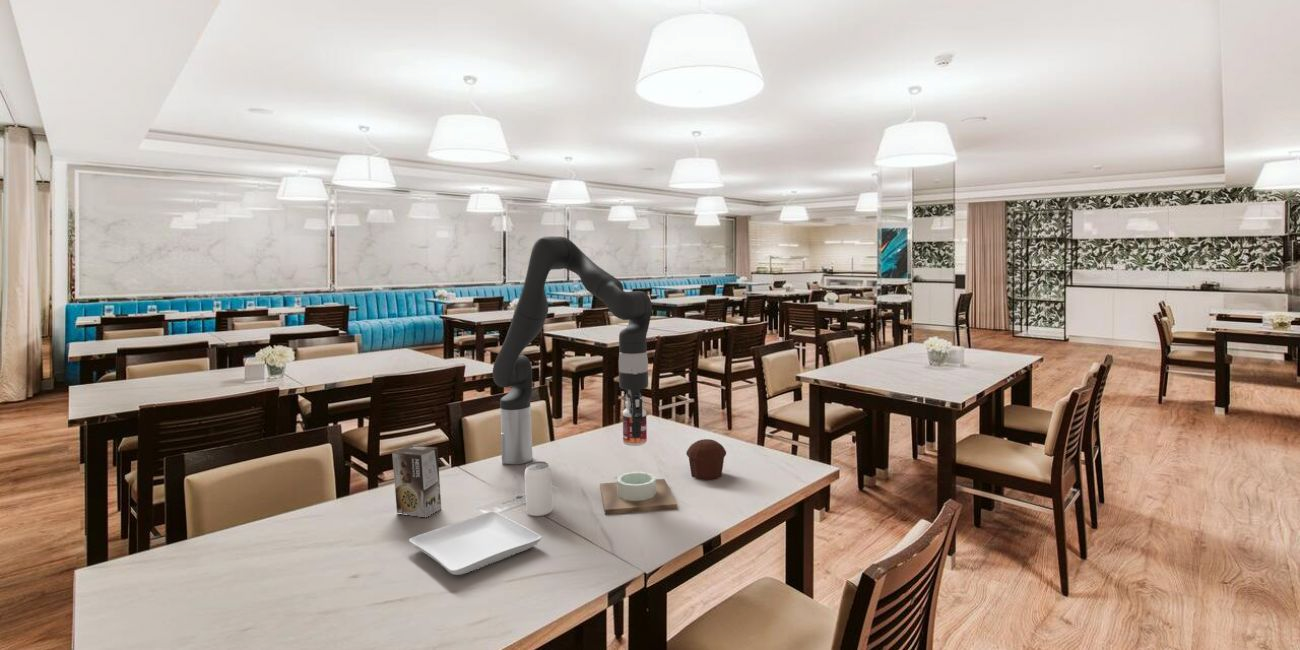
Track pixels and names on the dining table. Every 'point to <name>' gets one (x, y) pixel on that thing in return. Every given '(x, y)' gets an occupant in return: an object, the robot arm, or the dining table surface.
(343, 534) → the dining table surface
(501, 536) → the salad plate
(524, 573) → the dining table surface
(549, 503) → the can
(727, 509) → the dining table surface
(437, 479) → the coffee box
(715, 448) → the muffin
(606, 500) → the walnut board
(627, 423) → the pill bottle
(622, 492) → the pale green bowl
